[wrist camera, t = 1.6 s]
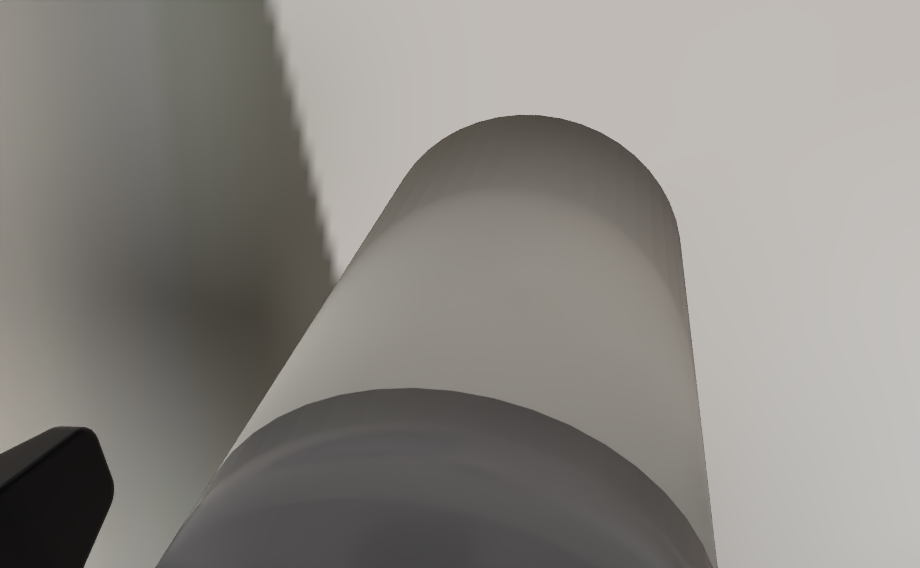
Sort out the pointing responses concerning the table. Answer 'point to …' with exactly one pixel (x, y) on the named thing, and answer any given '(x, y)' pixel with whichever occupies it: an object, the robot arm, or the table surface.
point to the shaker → (484, 380)
